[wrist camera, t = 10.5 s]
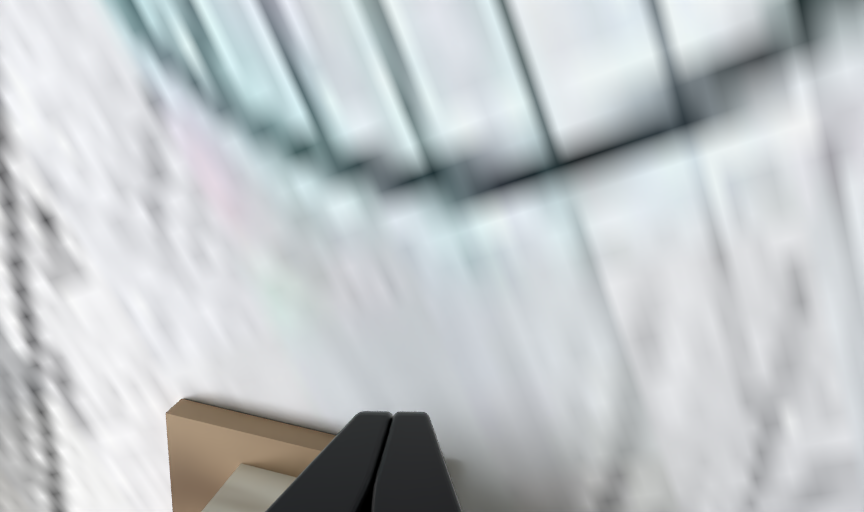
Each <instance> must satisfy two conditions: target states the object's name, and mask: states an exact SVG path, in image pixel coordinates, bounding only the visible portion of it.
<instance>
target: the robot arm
mask: <svg viewBox="0 0 864 512" xmlns="http://www.w3.org/2000/svg"><path fill="white" fill-rule="evenodd" d="M265 512H462V509H461V506H460V503H459V500H458V497H457V495H456V492H455V489H454V486H453V483H452V480H451V477H450V474H449V472H448V469H447V466H446V463H445V460H444V457H443V454H442V452H441V449H440V446H439V443H438V440H437V437H436V434H435V432H434V429H433V426H432V423H431V420H430V417H429V415H428V414H427V413H425V412H397V413H396V414H395V415H394V416H393V415H392V414H391V413H390V412H383V411H363V412H360V413H358V414H356V415H355V416H354V417H353V418H352V419H351V421H350V422H349V423H348V424H347V425H346V426H345V427H344V428H343V429H342V430H341V431H340V432H339V433H338V434H337V435H336V436H335V438H334V439H333V440H332V441H331V442H330V443H329V444H328V445H327V446H326V447H325V448H324V449H323V450H322V451H321V452H320V453H319V455H318V456H317V457H316V458H315V459H314V460H313V461H312V462H311V463H310V464H309V465H308V466H307V467H306V468H305V469H304V470H303V472H302V473H301V474H300V475H299V476H298V477H297V478H296V479H295V480H294V481H293V482H292V483H291V484H290V485H289V486H288V487H287V489H286V490H285V491H284V492H283V493H282V494H281V495H280V496H279V497H278V498H277V499H276V500H275V501H274V502H273V503H272V504H271V506H270V507H269V508H268V509H267V510H266V511H265Z"/></svg>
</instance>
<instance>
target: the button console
mask: <svg viewBox="0 0 864 512" xmlns="http://www.w3.org/2000/svg"><path fill="white" fill-rule="evenodd" d="M166 424H167V438H168V451H169V465H170V479H171V492H172V506H173V512H265V511H266V510H267V509H268V508H269V507H270V506H271V504H272V503H273V502H274V501H275V500H276V499H277V498H278V497H279V496H280V495H281V494H282V493H283V492H284V491H285V490H286V489H287V487H288V486H289V485H290V484H291V483H292V482H293V481H294V480H295V479H296V478H297V477H298V476H299V475H300V474H301V473H302V472H303V470H304V469H305V468H306V467H307V466H308V465H309V464H310V463H311V462H312V461H313V460H314V459H315V458H316V457H317V456H318V455H319V453H320V452H321V451H322V450H323V449H324V448H325V447H326V446H327V445H328V444H329V443H330V442H331V441H332V440H333V439H334V438H335V436H336V435H332V434H328V433H324V432H320V431H315V430H311V429H307V428H303V427H299V426H294V425H290V424H286V423H282V422H278V421H273V420H269V419H265V418H261V417H256V416H252V415H248V414H244V413H240V412H235V411H231V410H227V409H223V408H219V407H214V406H210V405H206V404H202V403H198V402H193V401H189V400H185V399H181V400H180V401H179V402H177V403H176V404H175V405H174V406H173V407H172V408H171V409H170V410H169V411H168V412H166Z"/></svg>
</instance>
